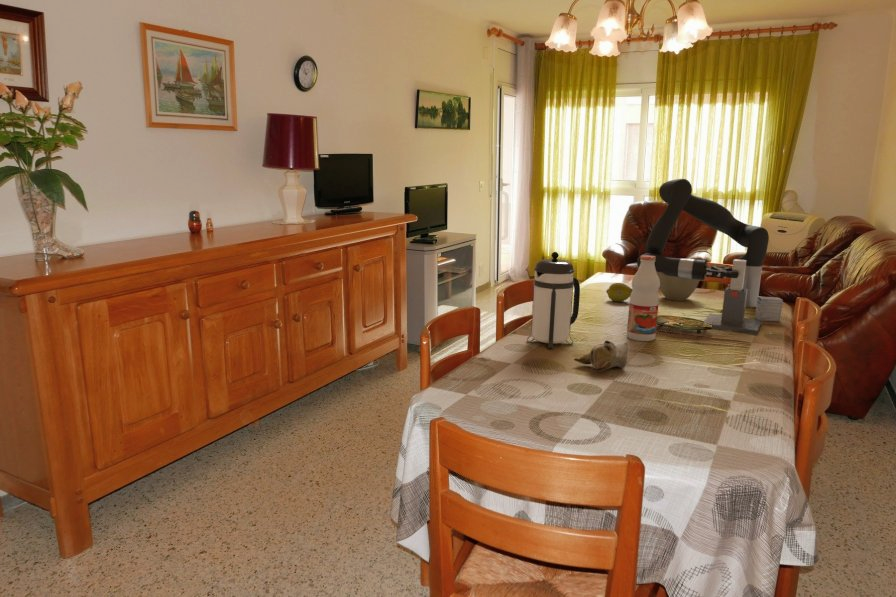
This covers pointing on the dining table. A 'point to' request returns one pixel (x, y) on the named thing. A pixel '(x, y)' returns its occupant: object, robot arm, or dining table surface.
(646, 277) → the fruit juice
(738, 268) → the column
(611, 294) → the lemon
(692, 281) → the beige bowl
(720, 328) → the stand
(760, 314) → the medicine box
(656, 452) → the dining table surface
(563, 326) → the coffee press
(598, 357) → the ceramic sculpture
